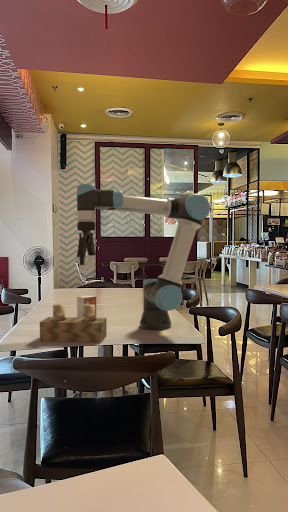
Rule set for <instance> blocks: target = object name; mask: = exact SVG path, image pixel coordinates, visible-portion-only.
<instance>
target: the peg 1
mask: <svg viewBox="0 0 288 512" xmlns="http://www.w3.org/2000/svg"><path fill="white" fill-rule="evenodd" d="M65 309H66V305H65V303H57V304H56V303H55V304H53V305H52V317H53V321H65V317H66V316H65V315H66V310H65Z"/></svg>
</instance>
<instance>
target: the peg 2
mask: <svg viewBox="0 0 288 512" xmlns="http://www.w3.org/2000/svg"><path fill="white" fill-rule="evenodd" d="M83 321H84V322H94V321H95V305H92V304H87V305H83Z"/></svg>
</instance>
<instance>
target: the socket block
mask: <svg viewBox="0 0 288 512" xmlns="http://www.w3.org/2000/svg"><path fill="white" fill-rule="evenodd" d="M107 326H108V325H107V317H96V318H95V321H94V322H84V321H83V317H77V316H76V317H75V316H73V317H72V316H70V317H69V316H65V321H53V316H48V317H46V318H44V319H42V320H40V322H39V342H63V343H64V342H66V343H102V342H104V340H105V339H106V338H107V329H108V328H107Z"/></svg>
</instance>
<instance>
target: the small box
mask: <svg viewBox="0 0 288 512" xmlns="http://www.w3.org/2000/svg"><path fill="white" fill-rule="evenodd" d="M87 304H92V305H95V318H97V296H96V295H89V294H88V295H81V296H76V317H83V305H87Z"/></svg>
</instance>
